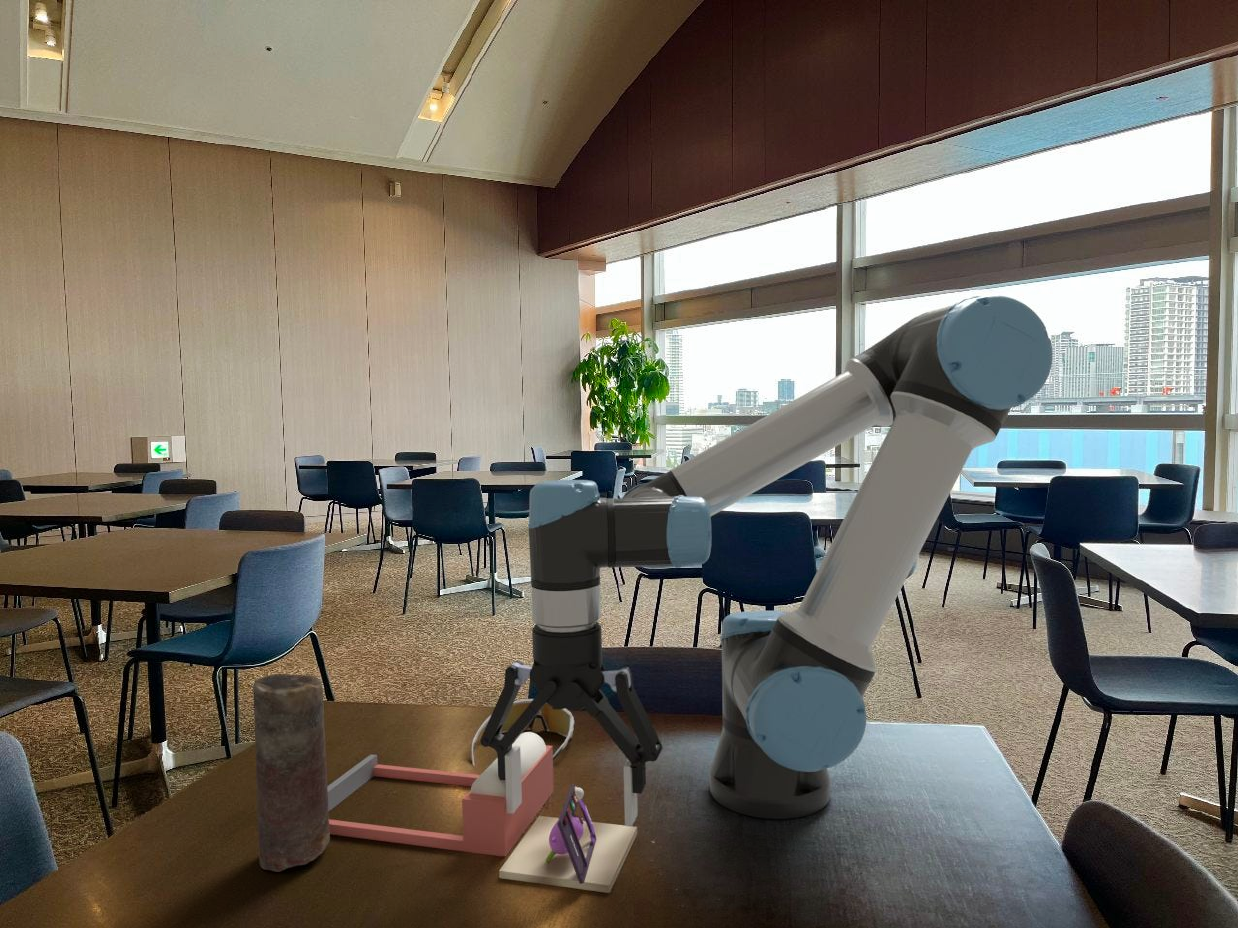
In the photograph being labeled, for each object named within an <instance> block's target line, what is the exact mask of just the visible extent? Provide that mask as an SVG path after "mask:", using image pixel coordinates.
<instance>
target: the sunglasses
mask: <svg viewBox="0 0 1238 928" xmlns="http://www.w3.org/2000/svg"><path fill="white" fill-rule="evenodd" d="M533 699H534V698H524V699H518V700H514V703H513V705H512V707H511V709H510V712H509V714H508V716H507V718H506V720H505V723H504V725H503V727H502V729H501V731H500V734H503V733H507V731H508V730H509V729H510V728H511V727H512V725H513V724H514V723H515V722H516V720H517V719H518V718H519V717H520V716H521V714H522V713H523V712H524V711H525V709H526V708H527V707H528V706H529V704H530V703H531V702H532V700H533ZM491 715H492V713H491V714H490V715H489V716H488V717H487V718H486V719H485V720H484V721H483V723H482V724H481V725H480V726H479V728H478V730H477V731H476V733H475V735H474V737H473V739H472V743H471V749H470V750H471V753H470V754H471V765H472V766H474V767H475V765H476V763H475V757H474V755H475V753H474V752H475V751H474V750H475V745H476V742H477V740H478V737H479V735H480V734H481V732H482V731H483V730H485V728H486V726H487V724H488V721H489V719H490V717H491ZM537 719H540V720H541V723H542V726H543V729H544V730H545V731H546V732H552V733H556V734H559V735H561V736H563V737H565V740H564V741H563V743H562V744H561V745H560V746H559V748H558V749H557V750H556V751H555V753H553V762H554V761H555V760H556V759H557V758H558V756H559V755H560V754H561V752H562V751H563V750H564V749H565V747H566V748H567V745H568V742H569V740H570V739H571V738H572V737H573V733H574V727H575V720H574V719H575V718H574V716H573V714H572V712H571V710H569V709H567V708H565V709H560V710H557V709H552V707H551V706H549V705H548V704H547V703H546V704H545V705H544V706H543V708H542V709H541V710H540V711H539V713H538V714H537V715H536V716H535V717H534V719H533V720H532V721H531V722H530V723H529V725H528V726H527V727H526V728H525V730H524V731H526V730H527V731H529V730H533V728H534V724H535V722H536V720H537Z"/></svg>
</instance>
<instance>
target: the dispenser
mask: <svg viewBox="0 0 1238 928" xmlns="http://www.w3.org/2000/svg"><path fill="white" fill-rule="evenodd" d="M514 746H520V752H521V785H522V803H521V804H520V806H519V807H518V808H517V809H516V811H515V812H514V813H513V814H510V813H507V809H506V781H505V780H500V779H499V777H498V757H496V758H495V760H493V762H492V763H490V765H489V766H488V767H487V768H486V769H485V770H484V771H483V772H482V773H481V774H478V773H477V774H476V773H466V772H456V771H455V772H454V771H445V770H439V769H438V770H436V769H427V768H419V767H418V768H417V767H407V766H406V767H405V766H397V765H396V766H395V765H390V764H389V765H387V764H378V754H369V755H368V756H366V757H365V758H364V759H362V760H361V761H359V762H358V763H357V764H356V765H354V766H353V767H352V768H350V769H349V770H347V771H346V772H345V773H344V774H342V775H341V776H339V777H338V778H337V779H335V780H334V781H333V782H331V783H330V784H328V785H327V790H328V808H329V812H330V811H332V810H333V809H334V808H336V807H337V806H338V805H340V803H342V802H343V801H344V800H345V799H346V798H348V797H350V795H352V794H353V793H354V792H355V791H357V790H358V789H360V788H361V787H362V786H364V785H365V784H366V783H368V781H370V780H371V779H372V778H373V777H379V778H381V777H382V778H390V779H397V780H406V781H407V780H409V781H417V782H427V783H428V782H429V783H436V784H446V785H454V786H455V785H456V786H465V787H470V791H468V792H467V793H466V794H465V795H464V796H463V798H462V799H461V802H462V803H461V805H462V806H461V807H462V810H461V811H462V832H463V833H462V835H459V834H452V833H451V834H450V833H442V832H434V831H428V830H427V831H425V830H417V829H409V828H404V827H403V828H402V827H394V826H387V825H386V826H385V825H378V824H370V823H369V824H368V823H363V822H362V823H361V822H354V821H353V822H352V821H345V820H337V819H330V818H329V831H330V835H334V836H335V835H336V836H341V837H342V836H343V837H349V838H350V837H351V838H357V839H365V840H374V841H381V842H389V843H395V844H396V843H397V844H403V845H410V846H411V845H412V846H419V847H427V848H435V849H443V850H449V851H458V852H465V853H473V854H482V855H488V856H489V855H490V856H496V857H497V856H498V857H503V856H505V857H504V858H506V857H507V855H509V853H510V852H511V850H512V849H513V848H514V846H515V844H516V843H518V841H519V839H521V836H522V835H523V834H524V833H525V831H526V829H527V828H528V827H529V826H530V824H531V823H532V821H533V820H534V819H535V818H536V816H537V815H538V813H539V812H540V810H541V809H542V808H543V806H544V805H545V804H546V803H547V801H548V799H550V797H551V796H552V794H553V793H554V787H555V786H554V785H555V784H554V761H553V755H554V749H553V748H554V746H553V745H546V743H545V741H544V739H543V738H542V737H541V736H540V735H538V734H537V733H535V732H532V731H527V732H526V731H525V732H522V733H521V734H520V736H519V737H518V738H517V739H516V740H515V742H514V743H513V744H512V748H513V747H514Z"/></svg>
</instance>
